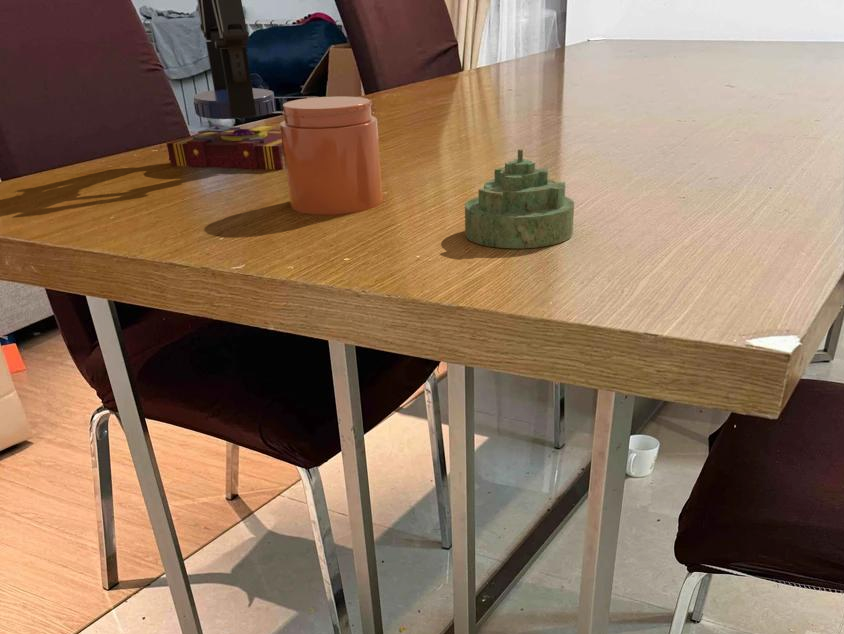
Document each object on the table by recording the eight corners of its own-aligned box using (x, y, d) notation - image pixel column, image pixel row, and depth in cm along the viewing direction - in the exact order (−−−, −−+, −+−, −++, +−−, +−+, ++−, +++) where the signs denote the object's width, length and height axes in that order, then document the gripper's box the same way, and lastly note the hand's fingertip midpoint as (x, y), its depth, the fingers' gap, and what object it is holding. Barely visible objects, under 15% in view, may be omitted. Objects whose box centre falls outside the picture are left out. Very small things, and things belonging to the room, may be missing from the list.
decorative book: (284, 188, 97) (277, 140, 94) (164, 183, 101) (154, 136, 98) (325, 168, 105) (320, 123, 102) (213, 165, 110) (205, 121, 106)
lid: (275, 103, 103) (272, 86, 102) (277, 116, 96) (275, 98, 95) (197, 107, 102) (194, 90, 101) (194, 121, 95) (191, 102, 94)
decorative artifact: (564, 218, 82) (463, 222, 82) (569, 137, 78) (461, 141, 78) (579, 246, 74) (467, 250, 74) (585, 158, 70) (466, 163, 70)
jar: (296, 239, 79) (278, 112, 73) (291, 217, 86) (275, 99, 80) (390, 231, 80) (381, 105, 74) (378, 210, 87) (369, 93, 81)
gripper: (252, -154, 78) (287, 120, 91) (215, -132, 95) (250, 96, 108) (169, -154, 76) (218, 126, 89) (147, -132, 93) (191, 101, 106)
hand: (235, 110), depth 99 cm, fingers open, 10 cm apart
